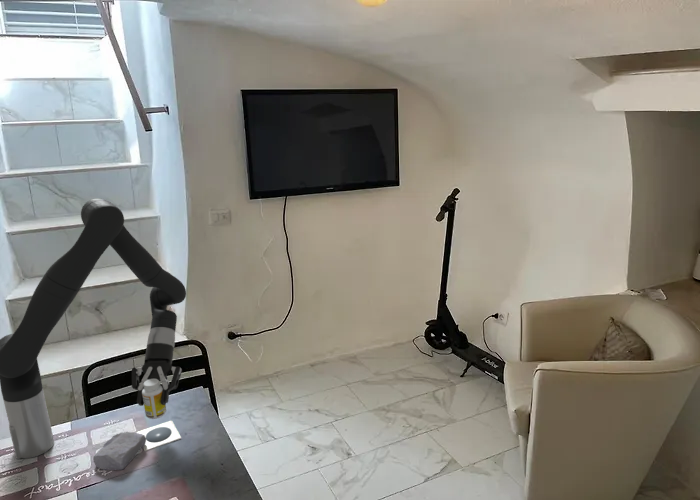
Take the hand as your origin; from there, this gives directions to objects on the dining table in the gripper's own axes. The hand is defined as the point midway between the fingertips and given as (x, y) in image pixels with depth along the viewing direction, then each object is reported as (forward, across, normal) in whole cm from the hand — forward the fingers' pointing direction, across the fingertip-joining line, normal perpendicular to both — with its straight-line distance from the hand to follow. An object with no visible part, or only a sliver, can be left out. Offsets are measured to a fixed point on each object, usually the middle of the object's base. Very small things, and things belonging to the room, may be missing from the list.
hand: (152, 404), depth 147 cm
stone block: (+13, -8, +3) cm, 15 cm away
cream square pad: (+7, 0, +9) cm, 11 cm away
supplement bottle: (+2, 0, +4) cm, 5 cm away
